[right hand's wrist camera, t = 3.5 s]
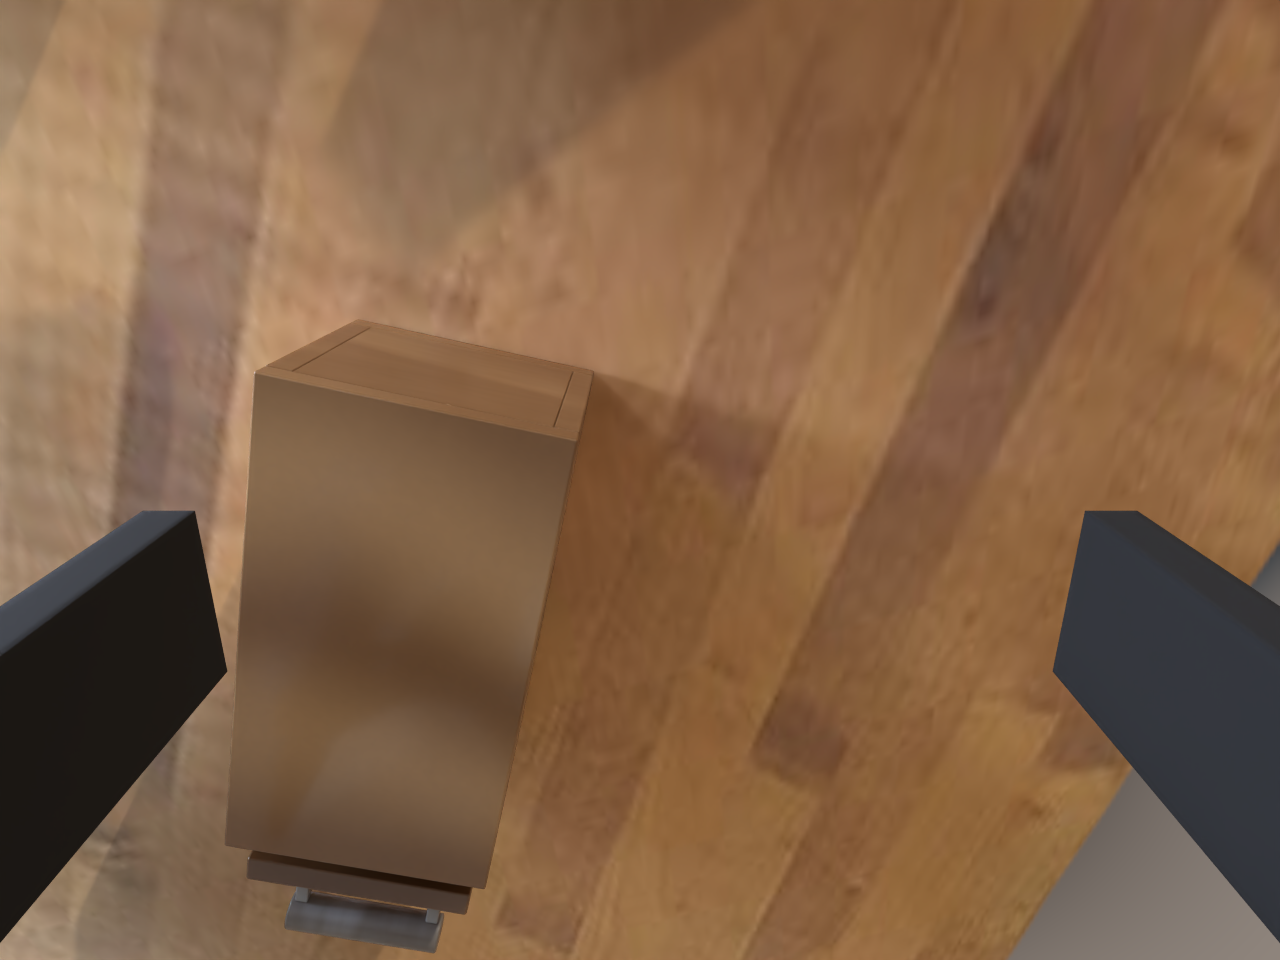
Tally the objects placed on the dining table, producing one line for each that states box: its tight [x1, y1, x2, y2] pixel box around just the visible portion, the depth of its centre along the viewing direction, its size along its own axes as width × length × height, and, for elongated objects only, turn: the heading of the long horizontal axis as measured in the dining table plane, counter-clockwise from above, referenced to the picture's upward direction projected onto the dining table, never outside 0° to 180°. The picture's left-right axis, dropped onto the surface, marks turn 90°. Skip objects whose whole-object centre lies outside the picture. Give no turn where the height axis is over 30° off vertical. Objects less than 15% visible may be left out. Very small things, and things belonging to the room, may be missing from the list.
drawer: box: [247, 850, 473, 953], centre depth 38 cm, size 25×10×9 cm, turn 167°
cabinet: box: [225, 320, 594, 889], centre depth 36 cm, size 20×11×10 cm, turn 167°
